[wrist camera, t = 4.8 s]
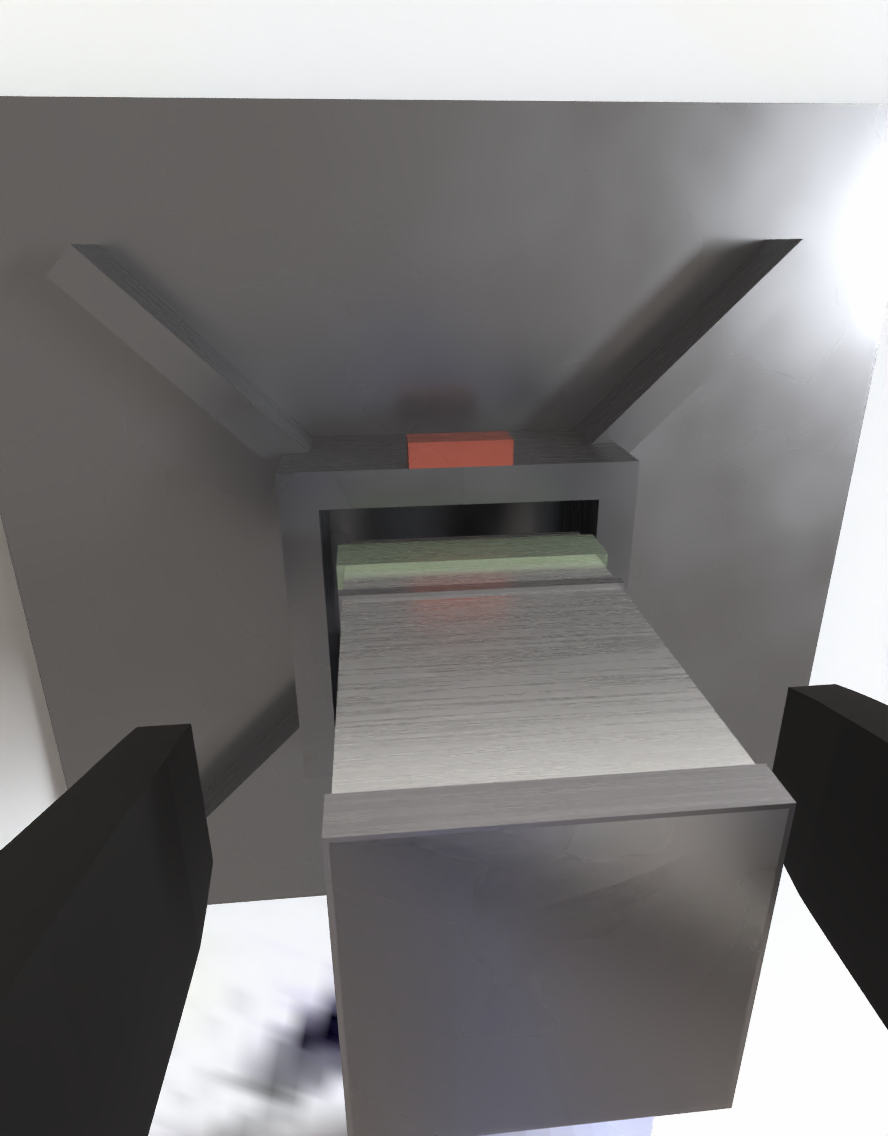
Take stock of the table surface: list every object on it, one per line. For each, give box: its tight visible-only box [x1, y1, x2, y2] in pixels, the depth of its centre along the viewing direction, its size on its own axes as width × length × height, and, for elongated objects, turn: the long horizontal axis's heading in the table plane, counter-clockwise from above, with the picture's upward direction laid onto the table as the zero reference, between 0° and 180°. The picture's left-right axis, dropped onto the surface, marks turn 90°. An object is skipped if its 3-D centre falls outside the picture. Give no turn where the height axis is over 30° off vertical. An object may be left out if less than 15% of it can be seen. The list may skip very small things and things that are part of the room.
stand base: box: [0, 96, 888, 905], centre depth 14 cm, size 16×16×3 cm
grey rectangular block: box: [322, 532, 796, 1136], centre depth 10 cm, size 4×4×6 cm
